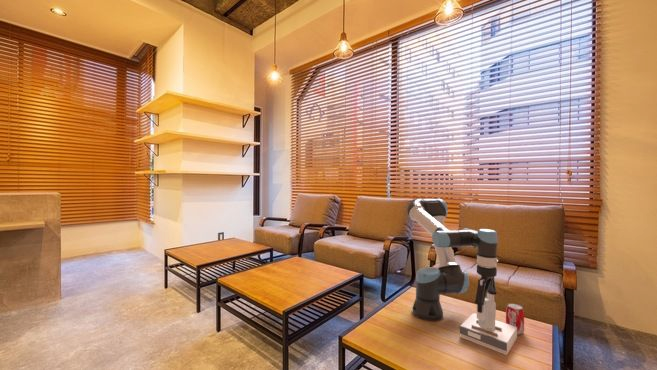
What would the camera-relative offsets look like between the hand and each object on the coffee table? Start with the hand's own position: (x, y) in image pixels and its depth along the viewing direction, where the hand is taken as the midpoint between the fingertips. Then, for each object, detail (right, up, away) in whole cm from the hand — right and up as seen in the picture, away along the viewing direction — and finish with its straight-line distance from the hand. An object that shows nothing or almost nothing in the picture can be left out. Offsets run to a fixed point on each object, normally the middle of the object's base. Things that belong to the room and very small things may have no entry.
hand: (485, 313), depth 121 cm
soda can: (+18, -12, +8) cm, 23 cm away
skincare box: (0, -7, 0) cm, 7 cm away
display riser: (+3, -12, +3) cm, 13 cm away
